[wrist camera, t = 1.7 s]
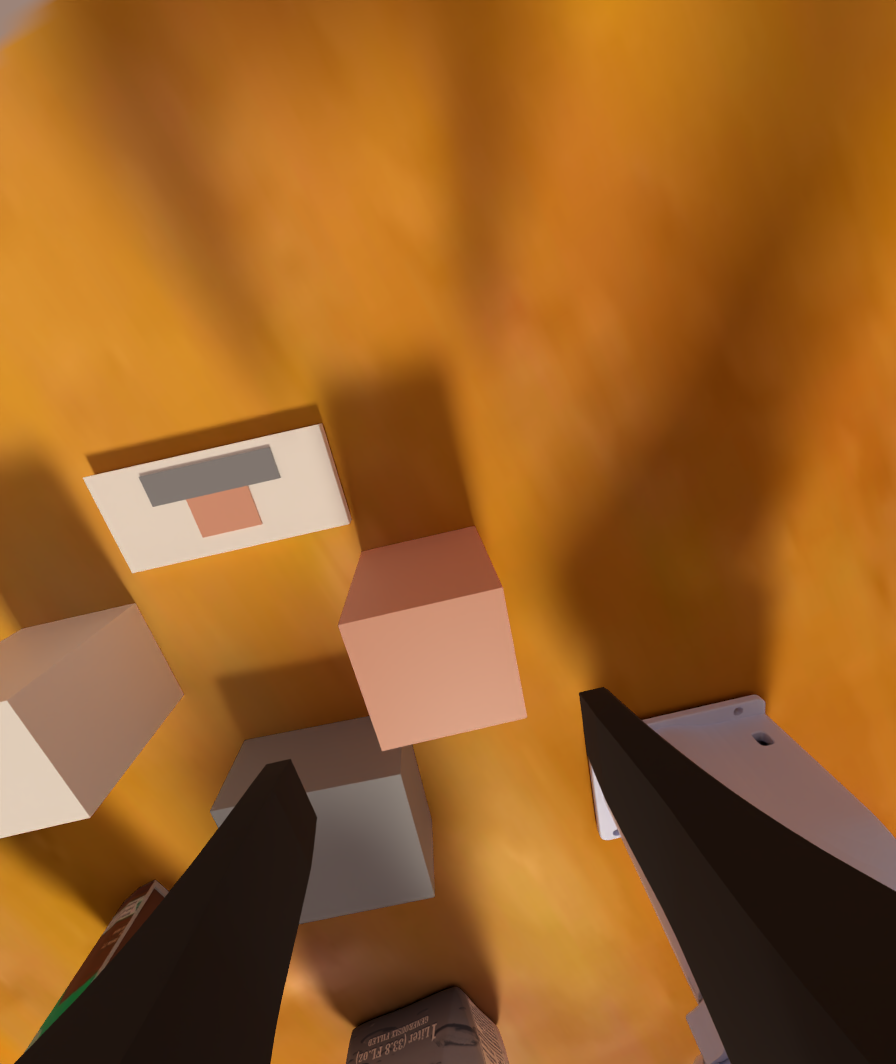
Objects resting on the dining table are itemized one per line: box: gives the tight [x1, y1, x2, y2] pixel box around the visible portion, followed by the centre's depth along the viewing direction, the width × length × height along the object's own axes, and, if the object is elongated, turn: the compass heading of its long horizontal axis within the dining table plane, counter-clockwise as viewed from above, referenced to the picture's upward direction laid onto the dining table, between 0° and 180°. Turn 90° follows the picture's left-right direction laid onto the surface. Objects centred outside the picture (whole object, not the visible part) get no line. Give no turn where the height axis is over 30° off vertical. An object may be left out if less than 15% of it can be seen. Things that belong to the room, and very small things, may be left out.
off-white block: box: [0, 603, 184, 838], centre depth 16 cm, size 5×5×6 cm
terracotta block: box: [338, 526, 527, 751], centre depth 16 cm, size 5×5×6 cm
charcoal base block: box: [210, 716, 435, 924], centre depth 20 cm, size 8×8×4 cm
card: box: [83, 423, 352, 573], centre depth 16 cm, size 9×4×1 cm, turn 102°
